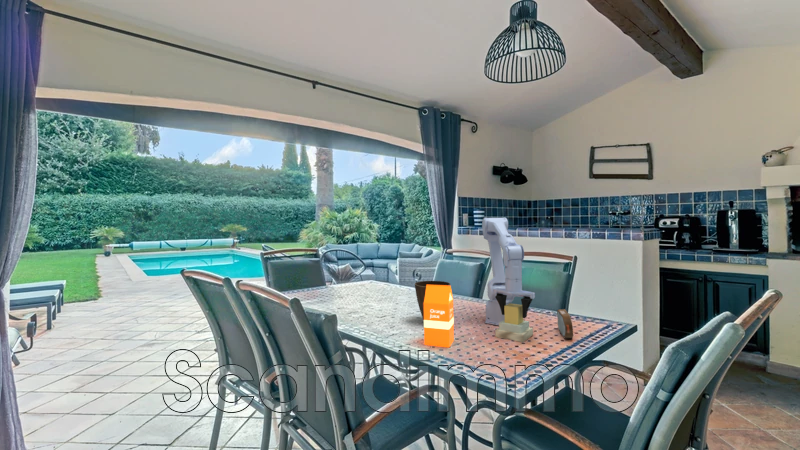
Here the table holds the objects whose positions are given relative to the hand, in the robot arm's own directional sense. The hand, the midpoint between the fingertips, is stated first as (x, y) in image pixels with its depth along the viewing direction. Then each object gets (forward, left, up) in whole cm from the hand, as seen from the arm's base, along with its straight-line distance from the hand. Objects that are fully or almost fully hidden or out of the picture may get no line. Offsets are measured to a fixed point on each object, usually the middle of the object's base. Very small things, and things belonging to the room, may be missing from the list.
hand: (514, 315), depth 128 cm
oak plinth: (0, 0, -7) cm, 7 cm away
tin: (+14, +12, -8) cm, 20 cm away
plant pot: (-34, -2, -7) cm, 35 cm away
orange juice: (-18, -22, -7) cm, 29 cm away
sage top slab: (0, 0, -5) cm, 5 cm away
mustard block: (0, 0, -2) cm, 2 cm away
